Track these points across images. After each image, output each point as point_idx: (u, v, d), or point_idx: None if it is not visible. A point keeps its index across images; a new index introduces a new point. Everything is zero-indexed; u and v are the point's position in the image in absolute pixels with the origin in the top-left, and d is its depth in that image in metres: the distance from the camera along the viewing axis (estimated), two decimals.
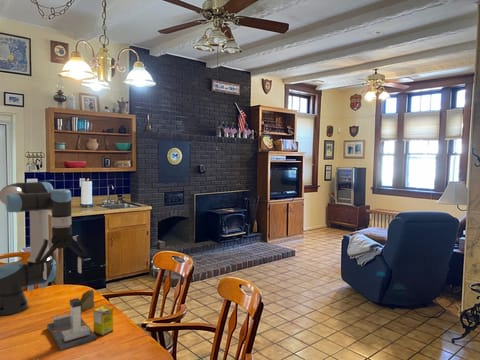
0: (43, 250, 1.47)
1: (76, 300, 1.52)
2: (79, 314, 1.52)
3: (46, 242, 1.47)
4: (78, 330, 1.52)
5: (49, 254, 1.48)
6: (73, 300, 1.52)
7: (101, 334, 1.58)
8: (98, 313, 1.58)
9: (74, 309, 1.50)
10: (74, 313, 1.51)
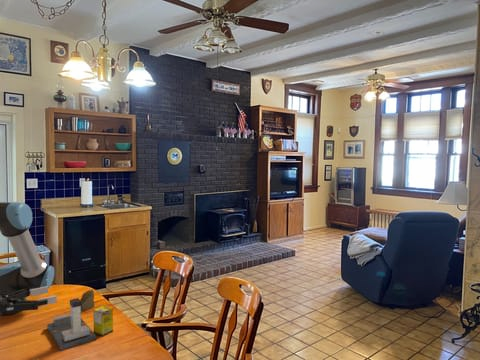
0: None
1: (76, 300, 1.52)
2: (79, 314, 1.52)
3: None
4: (78, 330, 1.52)
5: None
6: (73, 300, 1.52)
7: (101, 334, 1.58)
8: (98, 313, 1.58)
9: (74, 309, 1.50)
10: (74, 313, 1.51)
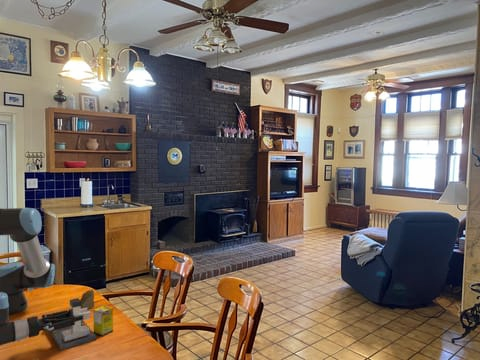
0: None
1: (76, 300, 1.52)
2: None
3: None
4: (78, 330, 1.52)
5: None
6: (73, 300, 1.52)
7: (101, 334, 1.58)
8: (98, 313, 1.58)
9: (74, 309, 1.50)
10: (74, 313, 1.51)
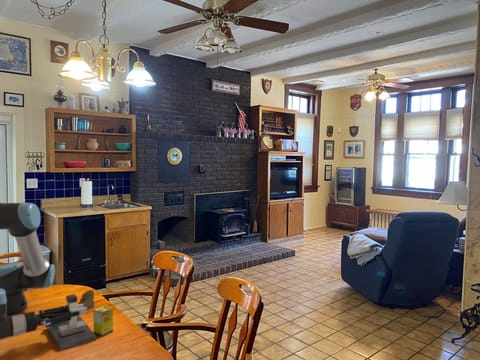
0: None
1: (72, 296, 1.57)
2: None
3: None
4: (74, 325, 1.56)
5: None
6: (69, 296, 1.57)
7: (101, 334, 1.58)
8: (98, 313, 1.58)
9: (70, 305, 1.55)
10: (70, 309, 1.55)
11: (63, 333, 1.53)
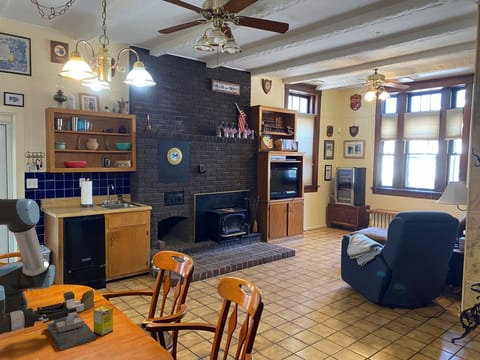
0: None
1: (70, 293, 1.60)
2: None
3: None
4: (71, 322, 1.60)
5: None
6: (67, 293, 1.60)
7: (101, 334, 1.58)
8: (98, 313, 1.58)
9: (68, 301, 1.58)
10: (68, 305, 1.58)
11: (60, 329, 1.56)
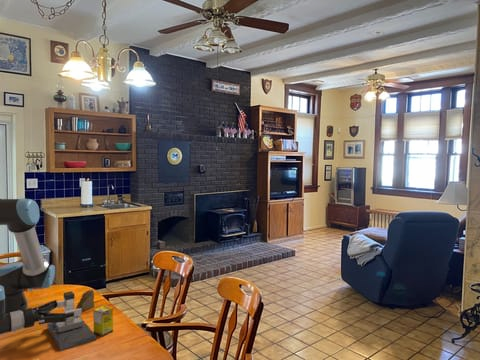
0: None
1: (70, 293, 1.60)
2: (72, 306, 1.60)
3: None
4: (71, 322, 1.60)
5: None
6: (67, 293, 1.60)
7: (101, 334, 1.58)
8: (98, 313, 1.58)
9: (68, 301, 1.58)
10: (68, 305, 1.58)
11: (60, 329, 1.56)
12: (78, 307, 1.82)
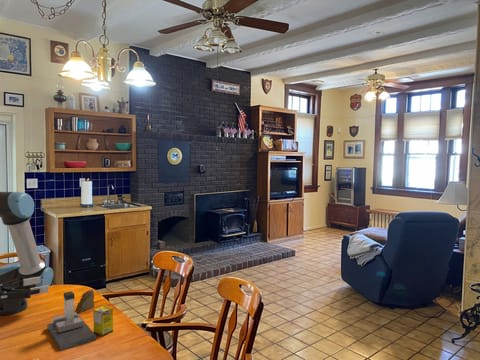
0: None
1: (70, 293, 1.60)
2: (72, 306, 1.60)
3: None
4: (71, 322, 1.60)
5: None
6: (67, 293, 1.60)
7: (101, 334, 1.58)
8: (98, 313, 1.58)
9: (68, 301, 1.58)
10: (68, 305, 1.58)
11: (60, 329, 1.56)
12: (78, 307, 1.82)
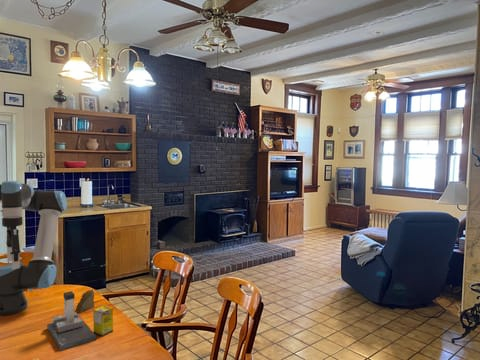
0: None
1: (70, 293, 1.60)
2: (72, 306, 1.60)
3: (7, 228, 1.61)
4: (71, 322, 1.60)
5: (8, 239, 1.61)
6: (67, 293, 1.60)
7: (101, 334, 1.58)
8: (98, 313, 1.58)
9: (68, 301, 1.58)
10: (68, 305, 1.58)
11: (60, 329, 1.56)
12: (78, 307, 1.82)
